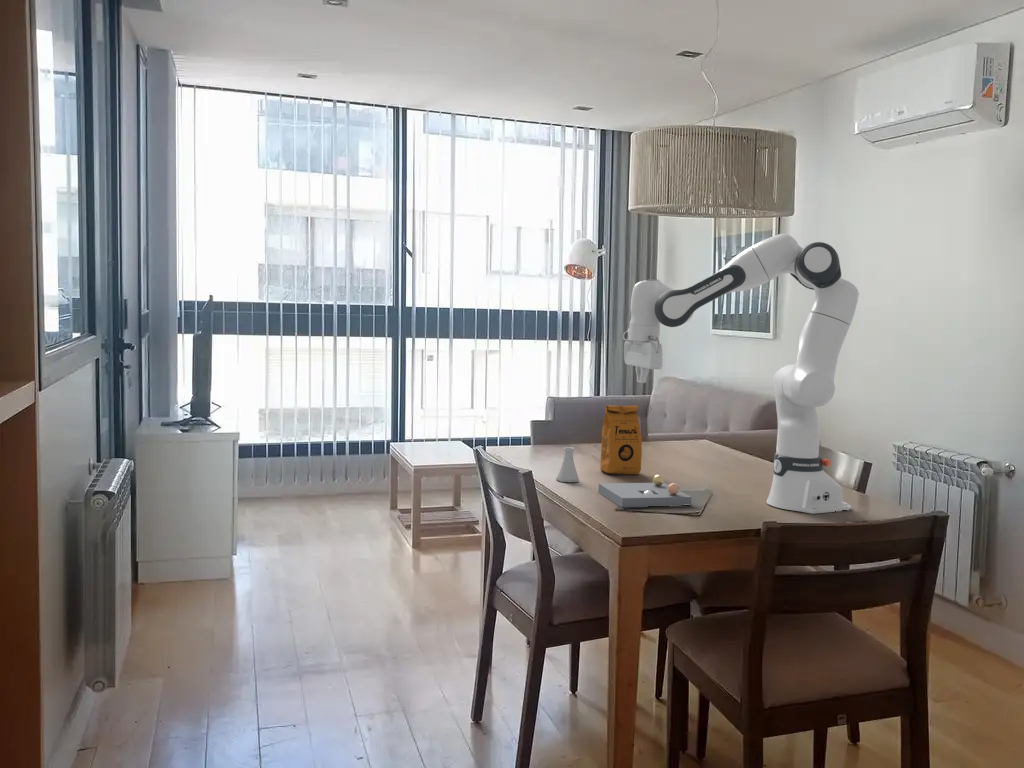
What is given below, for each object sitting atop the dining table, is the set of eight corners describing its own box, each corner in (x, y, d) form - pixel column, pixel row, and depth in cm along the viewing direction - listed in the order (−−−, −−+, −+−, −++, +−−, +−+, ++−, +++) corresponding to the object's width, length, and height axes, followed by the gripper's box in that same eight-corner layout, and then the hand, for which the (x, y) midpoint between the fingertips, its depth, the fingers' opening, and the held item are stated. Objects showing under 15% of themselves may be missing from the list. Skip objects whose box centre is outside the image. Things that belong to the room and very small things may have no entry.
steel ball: (651, 502, 228) (650, 491, 229) (656, 500, 225) (655, 489, 226) (641, 503, 227) (639, 491, 228) (646, 501, 225) (644, 489, 225)
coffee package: (643, 476, 262) (647, 407, 260) (604, 476, 260) (608, 406, 258) (634, 470, 272) (638, 403, 270) (597, 469, 270) (601, 402, 268)
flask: (559, 483, 247) (561, 450, 246) (552, 478, 254) (553, 446, 253) (582, 483, 249) (584, 450, 248) (574, 478, 256) (576, 445, 255)
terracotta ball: (675, 493, 228) (676, 481, 228) (681, 495, 225) (681, 484, 225) (665, 493, 227) (665, 481, 227) (670, 496, 224) (670, 484, 224)
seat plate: (662, 491, 242) (663, 482, 241) (690, 506, 224) (691, 496, 224) (598, 492, 237) (598, 483, 236) (621, 507, 219) (622, 498, 219)
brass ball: (660, 484, 239) (661, 473, 238) (665, 487, 236) (666, 475, 235) (650, 484, 238) (651, 473, 238) (655, 487, 235) (655, 476, 234)
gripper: (669, 337, 233) (666, 386, 234) (640, 334, 252) (638, 379, 254) (648, 336, 231) (645, 385, 232) (621, 333, 251) (618, 379, 252)
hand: (641, 382), depth 243 cm, fingers closed
